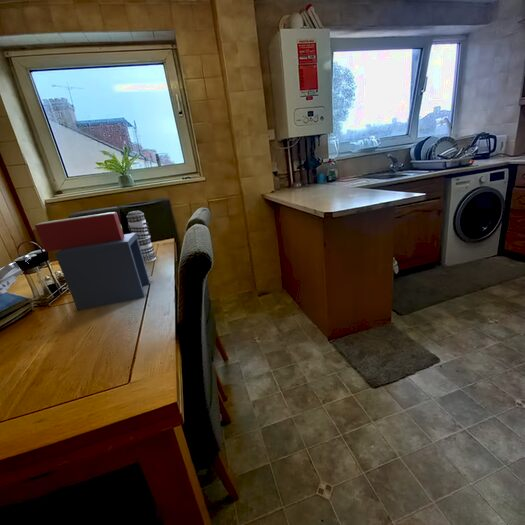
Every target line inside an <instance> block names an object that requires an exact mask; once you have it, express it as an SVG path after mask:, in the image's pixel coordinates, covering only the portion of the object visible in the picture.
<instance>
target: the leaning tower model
mask: <svg viewBox="0 0 525 525" xmlns="http://www.w3.org/2000/svg"><path fill="white" fill-rule="evenodd" d="M126 218H127V223H128V224H127V228H128V231H129V232H130V233H136V235H137V238H138V242H139V245H140V249H141V252H142V256H143V259H144V263H145V264H147V263H151V262H153V261H155V260H157V257H156V256H157V255H156V252H155V249H154V245H153V243H152V241H151V233H150V229H149V228H150V226H148V224H149V223H148V222H147V221H146V218H145V213H144V212H143V211H141V210H133V211H129V212H128V213H127V215H126Z"/></svg>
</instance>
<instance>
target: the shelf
mask: <svg viewBox="0 0 525 525" xmlns="http://www.w3.org/2000/svg"><path fill="white" fill-rule="evenodd" d="M123 234H124V233H123ZM54 255H55V257H56V260H57V262H58V265H59V267H60V270H61V272H62V275H63V278H64V280H65V284H66V285H67V287H68V290H69V293H70V295H71V297H72V301H73V303H74V305H75V308H76V310H77V311H82V310H87V309H93V308H97V307H102V306H107V305H112V304H117V303H122V302H127V301H133V300H138V299H143V298H145V296H146V295H145V292H144V287H143V286H146V285H150V283H151V281H150V278H149V274H148V270H147V267H146V263H144V259H143V256H142V252H141V249H140V245H139V242H138V238H137V235H136V233H131V232H130V233H125V234H124V238H123V239H122V240H117V241H111V242H104V243H98V244H92V245H86V246H80V247H73V248H67V249H61V250H57V252H55V253H54Z"/></svg>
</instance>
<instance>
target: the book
mask: <svg viewBox="0 0 525 525" xmlns="http://www.w3.org/2000/svg"><path fill="white" fill-rule="evenodd" d="M109 212H110V213H108V212H103V213H97V214H89V215H83V216H77V217H69V218H62V219H55V220H50V221H43V222H39V223H36V224H34V228H35V231H36V232H37V235H38V238H39V240H40V243H41V245H42V247H43V250H44V252H45V253H48V252H53V251H60V250H62V249H67V248H73V247H80V246H86V245H92V244H98V243H104V242H111V241H117V240H122V239H123V238H124V231H123V227H122V228H121V226H122V224H121V222H120V217H119V214H118V213H117V211H109Z"/></svg>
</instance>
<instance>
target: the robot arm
mask: <svg viewBox="0 0 525 525" xmlns="http://www.w3.org/2000/svg"><path fill="white" fill-rule="evenodd" d="M21 259H22V260H25V262H27V261H28V260H29V259H30V260H32V257H31V256H30V255H29V254H25V255H23V256H22V257H21ZM30 260H29V261H30ZM15 261H16V260H14V261H12V262H10V263H8V264H6V265H4V266H3V267H0V298H1V297H2V296H3V295H4V294H6V293H7V291H8V290H9V288H10V287H11V286H12V285H14V284H15V283H16V280H17V279H18V277H20V276H21V275H22V274H23V272H22V270H21V269H20V267H19V266H18V265H17V263H16V262H15ZM29 261H28V262H29ZM28 262H27V263H28Z"/></svg>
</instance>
